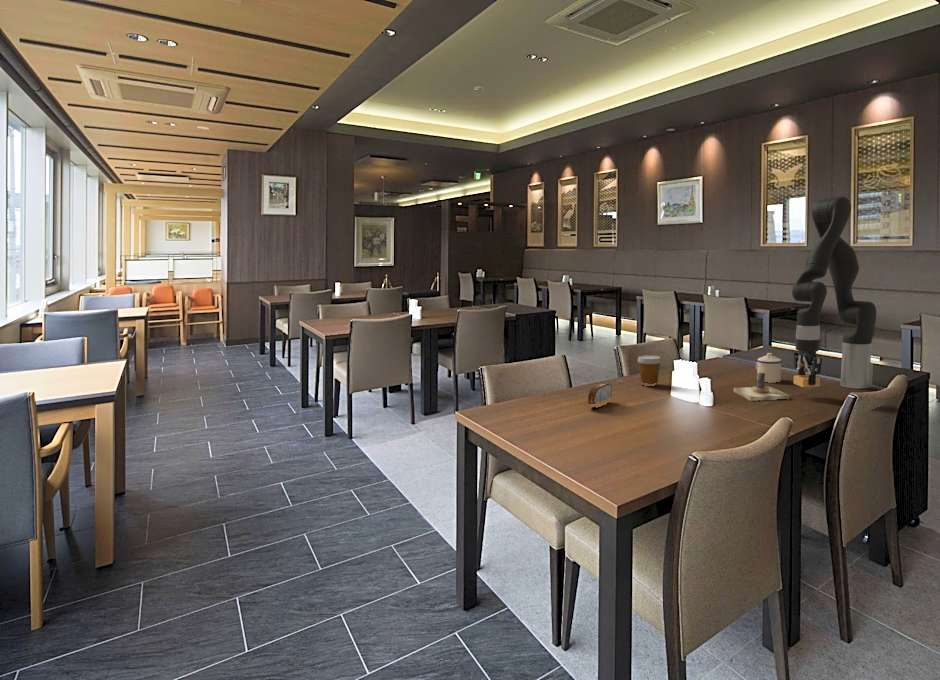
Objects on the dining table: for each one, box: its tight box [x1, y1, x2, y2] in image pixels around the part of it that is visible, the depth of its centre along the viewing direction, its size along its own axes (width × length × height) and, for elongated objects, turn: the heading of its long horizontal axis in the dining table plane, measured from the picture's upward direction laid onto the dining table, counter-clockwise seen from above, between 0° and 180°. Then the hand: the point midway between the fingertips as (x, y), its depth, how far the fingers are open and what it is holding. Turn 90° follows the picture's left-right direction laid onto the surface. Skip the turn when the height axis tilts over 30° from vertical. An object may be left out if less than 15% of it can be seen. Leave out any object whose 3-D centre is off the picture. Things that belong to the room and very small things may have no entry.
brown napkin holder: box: [587, 381, 613, 404], centre depth 207 cm, size 15×3×8 cm, turn 141°
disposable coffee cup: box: [637, 354, 662, 384], centre depth 235 cm, size 10×10×12 cm
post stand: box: [733, 373, 791, 402], centre depth 211 cm, size 14×14×8 cm
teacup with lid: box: [755, 352, 783, 384], centre depth 234 cm, size 12×9×12 cm
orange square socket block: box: [793, 374, 821, 388], centre depth 205 cm, size 6×6×3 cm
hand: (806, 382), depth 205 cm, fingers closed on orange square socket block, 6 cm apart
